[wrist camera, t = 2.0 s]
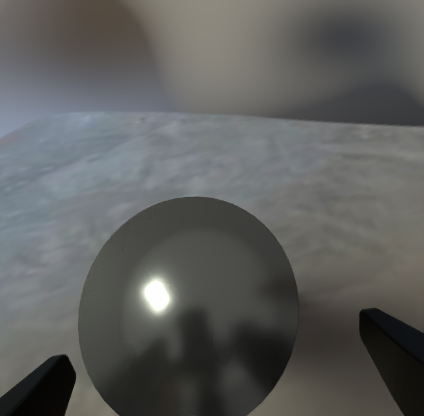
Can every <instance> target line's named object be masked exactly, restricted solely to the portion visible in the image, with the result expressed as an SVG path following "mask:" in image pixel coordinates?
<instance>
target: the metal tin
mask: <svg viewBox="0 0 424 416" xmlns="http://www.w3.org/2000/svg"><path fill="white" fill-rule="evenodd" d="M298 314H299V303H298V293H297V286H296V282H295V278H294V273H293V271H292V268H291V265H290V263H289V260H288V258H287V256H286V254H285V252H284V250H283V248H282V246H281V245H280V244H279V242H278V241H277V239H276V238H275V236H274V235H273V234H272V233H271V232H270V231H269V229H268V228H267V227H266V226H265V225H264V224H263V223H262V222H260V221H259V220H258V219H257V218H256V217H255V216H253V215H251V214H250V213H248V212H247V211H245V210H244V209H242V208H240V207H238V206H236V205H234V204H231V203H228V202H225V201H222V200H218V199H214V198H207V197H183V198H176V199H172V200H168V201H164V202H161V203H159V204H156V205H153V206H151V207H149V208H147V209H145V210H143V211H141V212H140V213H138V214H137V215H135V216H134V217H132V218H131V219H129V220H128V221H127V222H126V223H125V224H123V225H122V226H121V227H120V228H119V229H118V230H117V231H116V232H115V233H114V234H113V235H112V236H111V237H110V239H109V240H108V241H107V242H106V243H105V245H104V246H103V248H102V249H101V251H100V252H99V254H98V255H97V257H96V259H95V261H94V263H93V264H92V266H91V268H90V271H89V273H88V276H87V278H86V281H85V284H84V288H83V291H82V295H81V300H80V307H79V318H78V331H79V343H80V348H81V353H82V358H83V361H84V364H85V367H86V369H87V372H88V375H89V376H90V378H91V380H92V382H93V384H94V386H95V388H96V390H97V391H98V392H99V394H100V395H101V397H102V398H103V399H104V401H105V402H106V403H107V404H108V405H109V406H110V407H111V408H112V409H113V410H114V411H115V412H116V413H117V414H118V415H120V416H247V415H248V414H249V413H250V412H252V411H253V410H254V409H255V408H256V407H257V406H258V405H259V404H261V403H262V401H263V400H264V399H265V398H266V397H267V396H268V394H269V393H270V392H271V391H272V390H273V388H274V387H275V385H276V384H277V382H278V380H279V379H280V377H281V375H282V374H283V372H284V370H285V368H286V365H287V363H288V361H289V359H290V356H291V353H292V350H293V346H294V343H295V339H296V333H297V327H298Z"/></svg>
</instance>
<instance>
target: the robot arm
mask: <svg viewBox="0 0 424 416" xmlns="http://www.w3.org/2000/svg"><path fill="white" fill-rule="evenodd" d="M359 332H360V336H361V339H362V341H363V343H364V345H365V347H366V349H367V350H368V352H369V354H370V356H371V358H372V360H373V362H374V363H375V365H376V367H377V369H378V371H379V373H380V375H381V377H382V378H383V380H384V382H385V384H386V386H387V388H388V390H389V391H390V393H391V395H392V397H393V398H394V400H395V402H396V403H397V405H398V406H399V408H400V410H401V411H402V413H403V414H404V416H424V333H423V332H421V331H419V330H417V329H415V328H413V327H411V326H409V325H407V324H405V323H404V322H402V321H400V320H398V319H396V318H394V317H392V316H390V315H388V314H387V313H385V312H383V311H381V310H379V309H377V308H368V309H362V310H361V311H360V314H359ZM75 381H76V372H75V370H74V368H73V366H72V364H71V362H70V360H69V358H68V356H67V355H64V354H63V355H56V356H52V357H50V358H49V359H48V360H46V361H45V362H44V363H43V364H41V365H40V366H39V367H38V368H36V369H35V370H34V371H33V372H32V373H30V374H29V375H28V376H27V377H25V378H24V379H23V380H22V381H20V382H19V383H18V384H17V385H15V386H14V387H13V388H12V389H11V390H9V391H8V392H7V393H6V394H4V395H3V396H2V397H1V398H0V416H65V413H66V410H67V406H68V403H69V400H70V397H71V394H72V391H73V388H74V385H75Z"/></svg>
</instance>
